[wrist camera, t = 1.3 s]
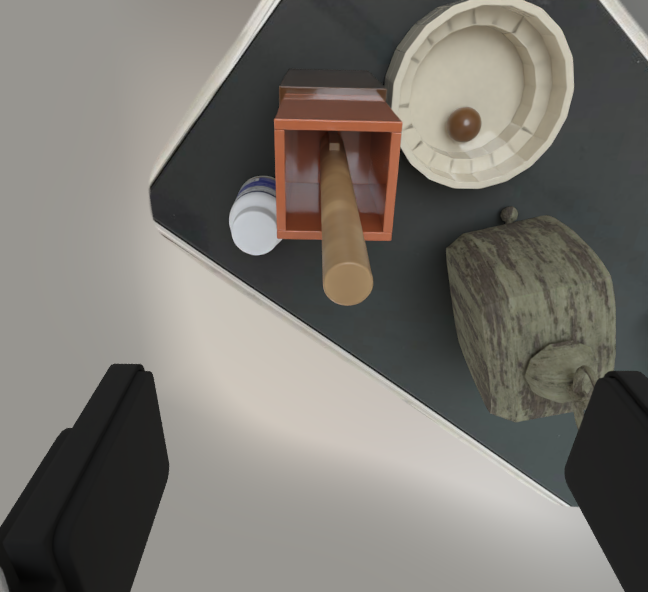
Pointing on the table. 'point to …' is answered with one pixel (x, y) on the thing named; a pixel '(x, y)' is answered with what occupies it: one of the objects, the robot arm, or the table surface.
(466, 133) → the brown ball
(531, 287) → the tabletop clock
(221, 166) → the table surface
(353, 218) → the stirring stick
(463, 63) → the bowl
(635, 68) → the table surface
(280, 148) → the brown boxy piece
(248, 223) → the pill bottle
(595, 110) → the table surface
